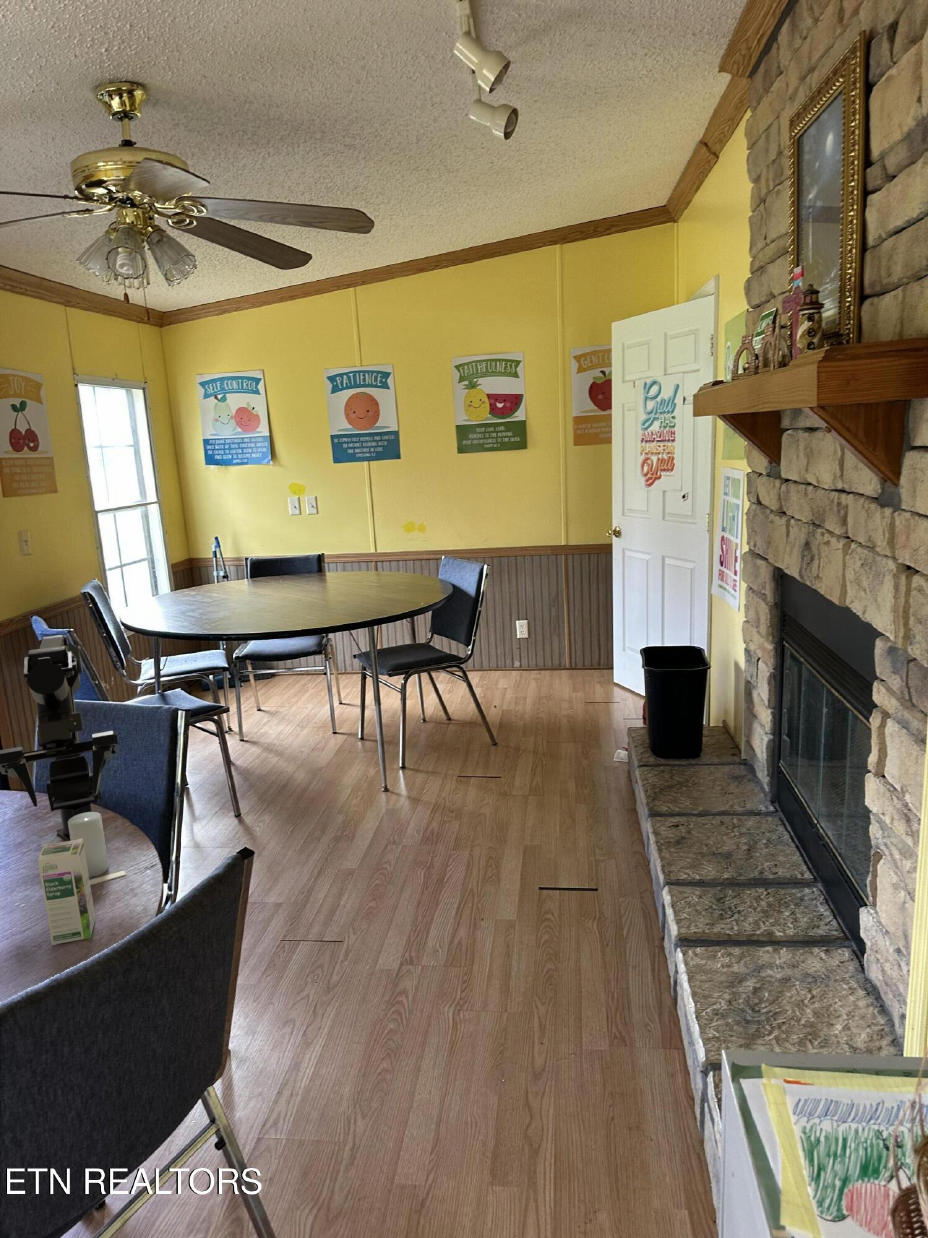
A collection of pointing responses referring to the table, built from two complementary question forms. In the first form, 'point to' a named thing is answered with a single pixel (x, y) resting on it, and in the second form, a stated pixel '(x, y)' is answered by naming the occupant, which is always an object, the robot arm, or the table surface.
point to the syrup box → (66, 891)
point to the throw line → (107, 877)
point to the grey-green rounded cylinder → (90, 840)
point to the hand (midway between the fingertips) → (65, 800)
